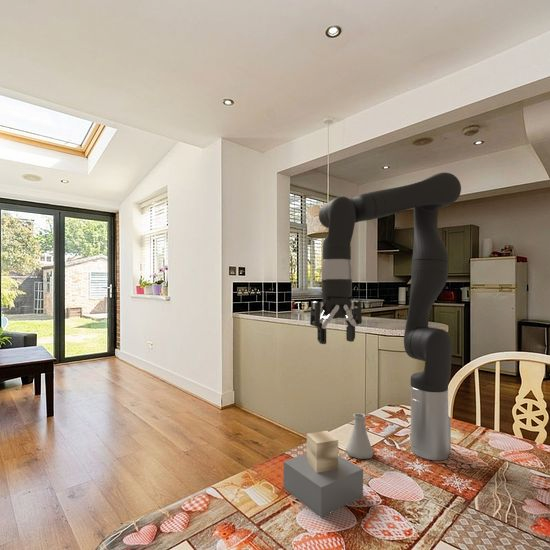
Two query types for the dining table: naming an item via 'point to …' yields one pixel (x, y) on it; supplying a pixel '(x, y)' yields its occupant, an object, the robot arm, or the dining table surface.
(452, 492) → the dining table surface
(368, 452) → the flask
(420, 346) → the robot arm
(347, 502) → the grey box
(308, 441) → the birch block
